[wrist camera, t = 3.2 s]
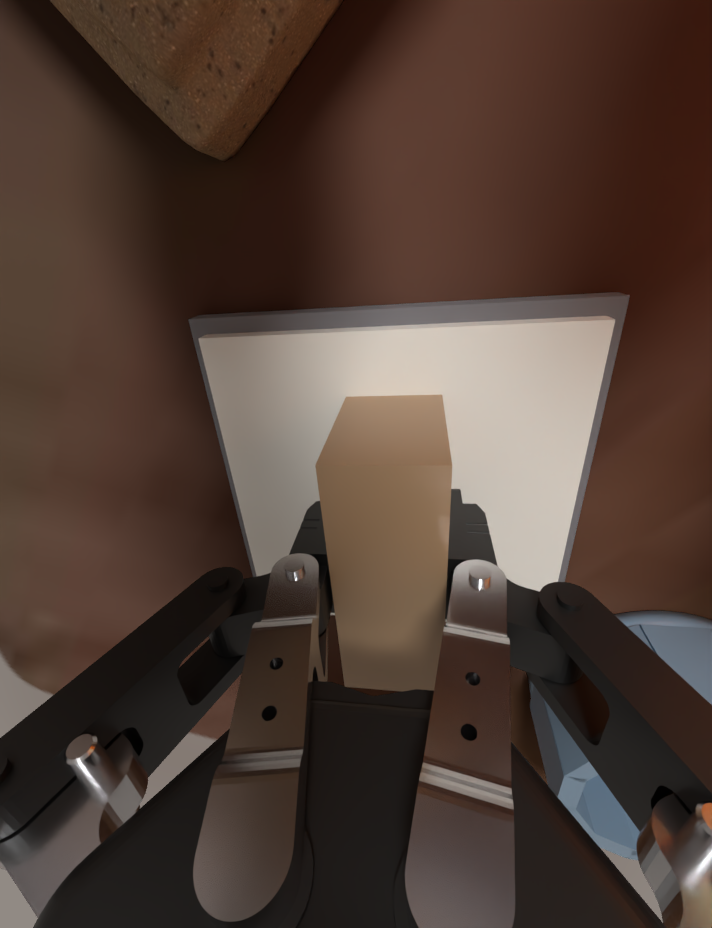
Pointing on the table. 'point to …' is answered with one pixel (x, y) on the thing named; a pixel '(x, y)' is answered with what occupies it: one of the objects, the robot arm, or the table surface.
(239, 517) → the mat
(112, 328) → the table surface
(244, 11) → the candle holder
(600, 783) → the bowl
